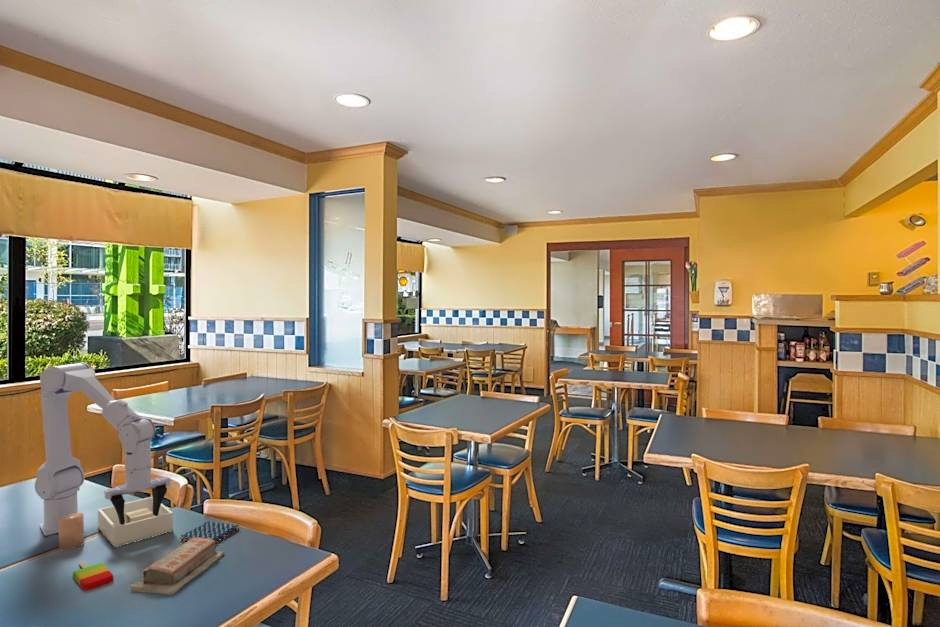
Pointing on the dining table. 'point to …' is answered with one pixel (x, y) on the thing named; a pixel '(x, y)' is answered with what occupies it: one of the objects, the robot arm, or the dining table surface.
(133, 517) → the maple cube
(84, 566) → the popsicle
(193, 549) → the packaged product
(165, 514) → the tote
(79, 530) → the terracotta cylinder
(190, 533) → the woven mat
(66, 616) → the dining table surface
